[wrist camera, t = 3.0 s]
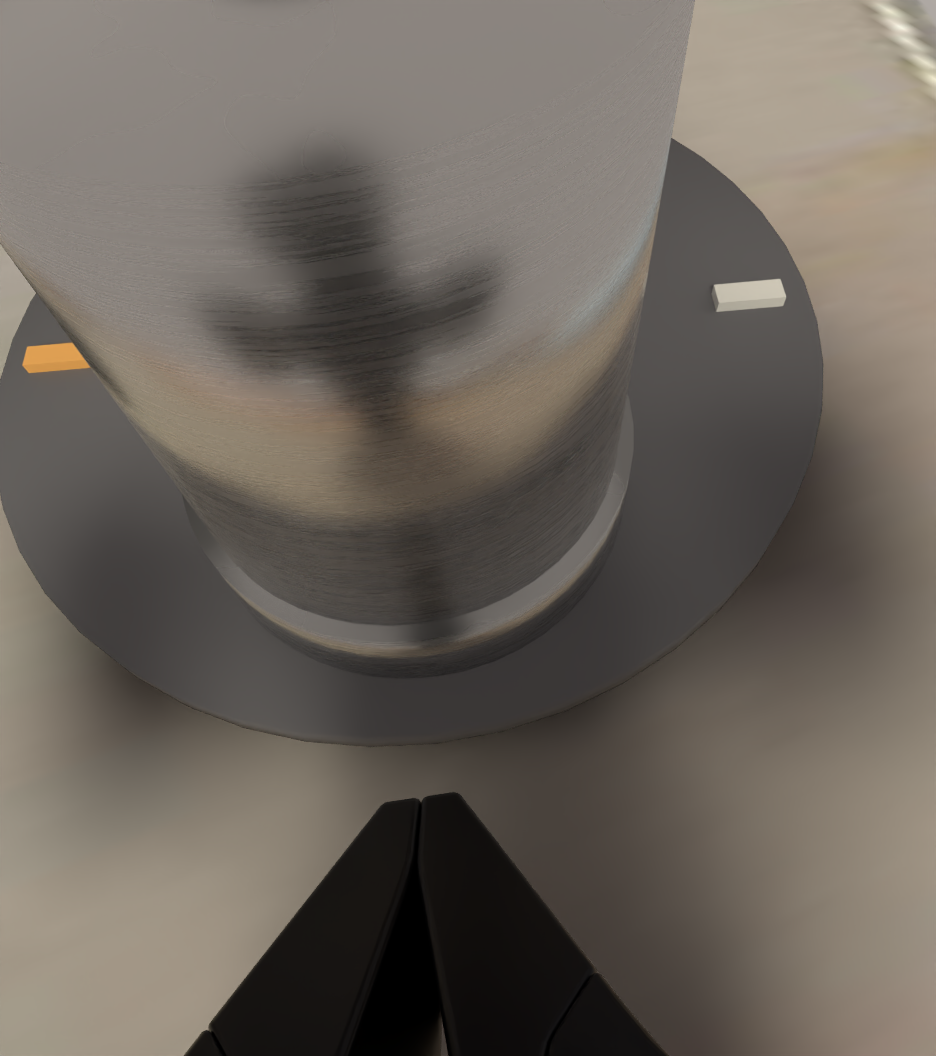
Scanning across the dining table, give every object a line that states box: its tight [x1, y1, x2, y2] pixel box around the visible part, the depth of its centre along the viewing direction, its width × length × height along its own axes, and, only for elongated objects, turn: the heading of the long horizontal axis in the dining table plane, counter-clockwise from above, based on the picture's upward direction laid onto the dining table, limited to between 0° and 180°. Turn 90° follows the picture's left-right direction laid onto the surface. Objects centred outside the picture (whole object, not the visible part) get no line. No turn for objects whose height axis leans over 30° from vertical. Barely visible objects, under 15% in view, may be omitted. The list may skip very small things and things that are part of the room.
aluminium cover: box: [0, 0, 695, 679], centre depth 13 cm, size 9×9×12 cm
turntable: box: [0, 138, 823, 747], centre depth 20 cm, size 20×20×1 cm
